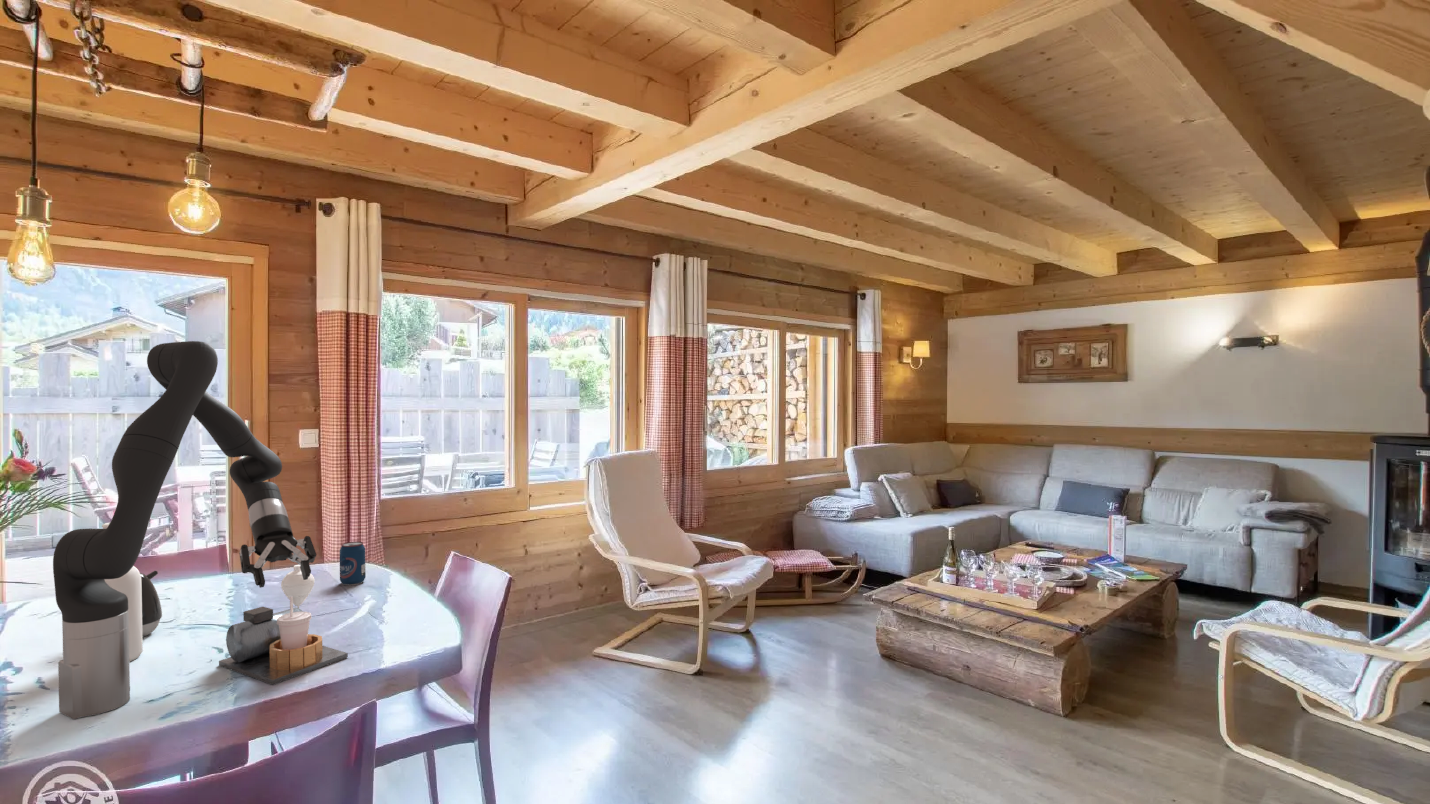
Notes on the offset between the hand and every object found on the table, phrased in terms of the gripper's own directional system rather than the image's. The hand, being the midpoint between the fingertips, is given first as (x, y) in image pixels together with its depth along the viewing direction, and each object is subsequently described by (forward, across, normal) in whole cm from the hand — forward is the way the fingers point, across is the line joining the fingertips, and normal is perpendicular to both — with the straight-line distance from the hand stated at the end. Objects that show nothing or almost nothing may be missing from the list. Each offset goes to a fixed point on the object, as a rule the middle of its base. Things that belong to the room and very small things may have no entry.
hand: (285, 581), depth 154 cm
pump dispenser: (-16, -21, +40) cm, 48 cm away
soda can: (-24, +31, +47) cm, 61 cm away
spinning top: (-12, +12, +35) cm, 39 cm away
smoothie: (+16, 0, +6) cm, 17 cm away
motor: (+14, -1, +9) cm, 17 cm away
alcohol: (-5, -26, +29) cm, 39 cm away
